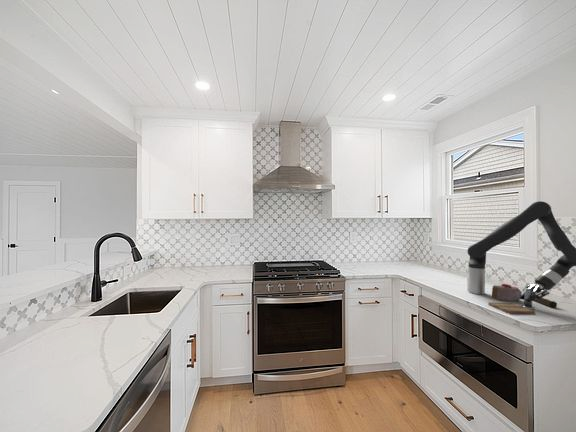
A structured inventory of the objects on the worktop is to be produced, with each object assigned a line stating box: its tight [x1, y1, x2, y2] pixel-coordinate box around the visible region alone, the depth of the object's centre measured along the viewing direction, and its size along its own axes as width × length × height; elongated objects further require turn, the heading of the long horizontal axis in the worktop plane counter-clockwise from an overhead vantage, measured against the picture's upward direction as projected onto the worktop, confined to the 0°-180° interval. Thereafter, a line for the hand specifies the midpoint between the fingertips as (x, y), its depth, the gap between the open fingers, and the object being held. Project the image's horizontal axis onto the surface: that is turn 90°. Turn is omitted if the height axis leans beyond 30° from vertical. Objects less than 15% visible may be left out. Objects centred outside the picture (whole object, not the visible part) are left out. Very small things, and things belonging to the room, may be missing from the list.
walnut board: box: [488, 301, 536, 315], centre depth 145 cm, size 14×14×2 cm
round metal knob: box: [520, 287, 536, 311], centre depth 147 cm, size 6×6×11 cm
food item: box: [491, 283, 523, 302], centre depth 162 cm, size 14×8×10 cm, turn 84°
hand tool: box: [532, 297, 558, 309], centre depth 157 cm, size 19×4×5 cm, turn 172°
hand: (524, 299), depth 147 cm, fingers open, 4 cm apart
